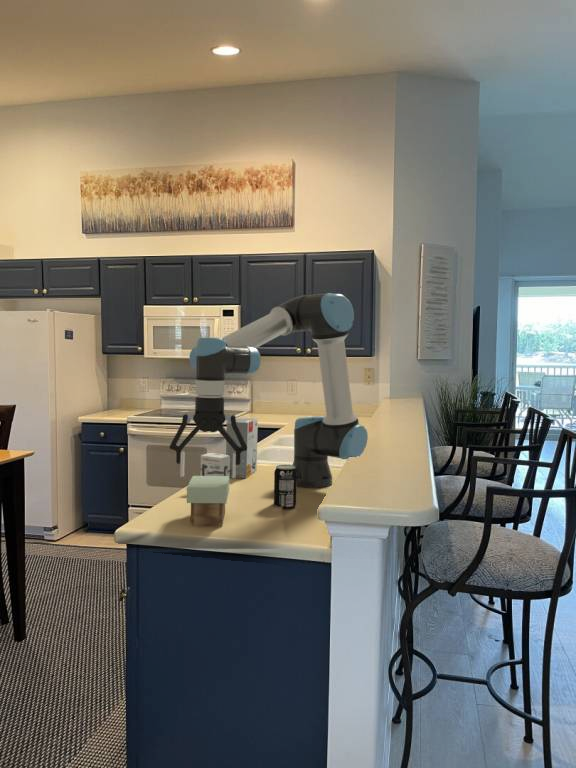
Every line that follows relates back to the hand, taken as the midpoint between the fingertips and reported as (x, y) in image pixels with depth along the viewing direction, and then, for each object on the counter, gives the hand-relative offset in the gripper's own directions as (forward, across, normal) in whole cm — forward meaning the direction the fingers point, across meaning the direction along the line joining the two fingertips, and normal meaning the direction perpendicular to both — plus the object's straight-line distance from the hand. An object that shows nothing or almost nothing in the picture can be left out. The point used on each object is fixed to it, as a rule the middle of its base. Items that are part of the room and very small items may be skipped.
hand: (208, 476), depth 165 cm
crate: (+12, 0, 0) cm, 12 cm away
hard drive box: (+12, -7, -63) cm, 64 cm away
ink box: (+12, +1, -36) cm, 38 cm away
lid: (+5, 0, 0) cm, 5 cm away
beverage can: (+12, -21, -17) cm, 30 cm away
